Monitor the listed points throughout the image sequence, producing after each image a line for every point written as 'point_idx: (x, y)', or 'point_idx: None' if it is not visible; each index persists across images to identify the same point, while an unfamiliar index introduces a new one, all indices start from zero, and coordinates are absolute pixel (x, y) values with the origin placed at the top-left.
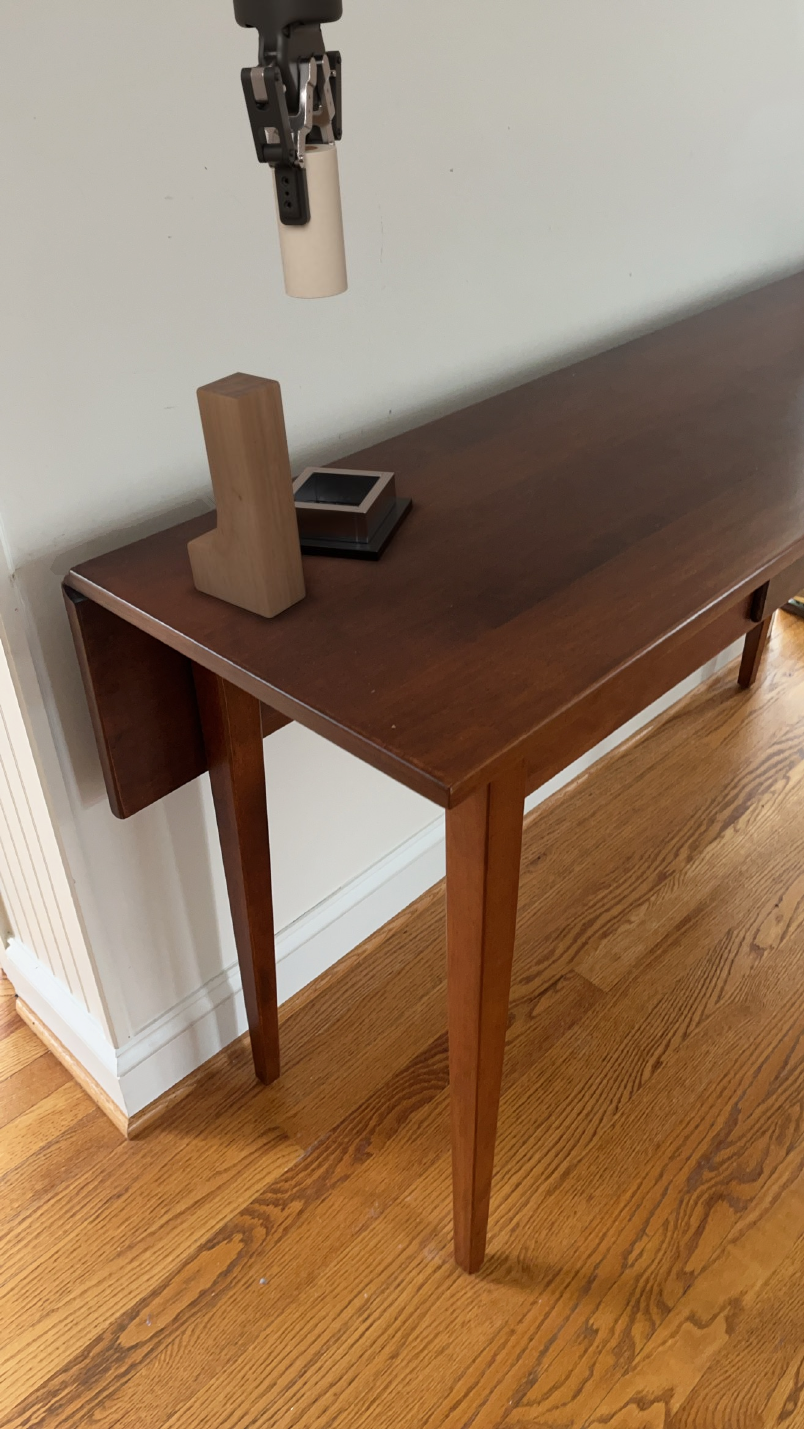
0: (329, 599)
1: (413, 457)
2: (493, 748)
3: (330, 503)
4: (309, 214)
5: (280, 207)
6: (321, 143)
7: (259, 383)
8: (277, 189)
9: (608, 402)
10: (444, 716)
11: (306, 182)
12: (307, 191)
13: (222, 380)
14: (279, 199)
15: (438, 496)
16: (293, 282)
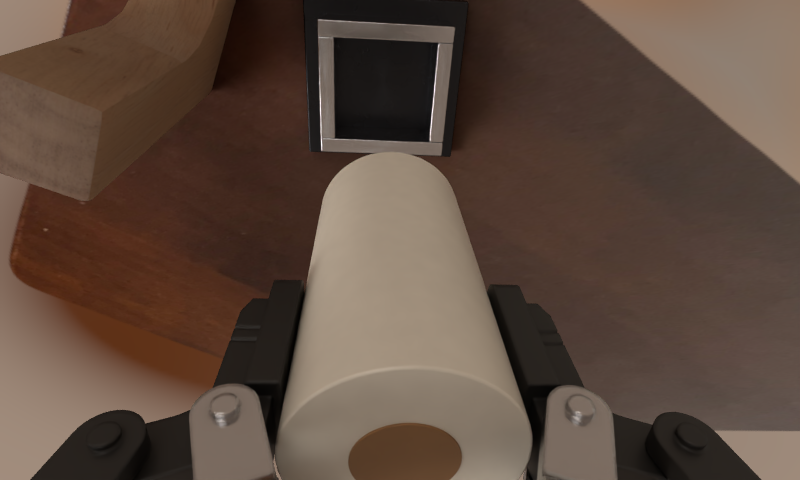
0: (216, 118)
1: (604, 117)
2: (60, 296)
3: (427, 57)
4: None
5: (239, 319)
6: (533, 475)
7: (53, 178)
8: (259, 339)
9: (740, 300)
10: (78, 260)
11: None
12: None
13: (36, 103)
14: (234, 334)
15: (482, 173)
16: (323, 204)
